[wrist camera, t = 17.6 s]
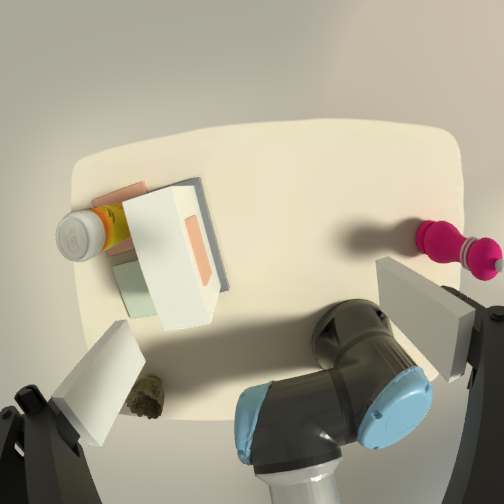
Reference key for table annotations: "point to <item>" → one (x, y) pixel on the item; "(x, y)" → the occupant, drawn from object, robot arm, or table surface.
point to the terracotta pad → (120, 197)
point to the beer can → (91, 231)
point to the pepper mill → (460, 249)
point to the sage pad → (134, 289)
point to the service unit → (178, 253)
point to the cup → (146, 397)
